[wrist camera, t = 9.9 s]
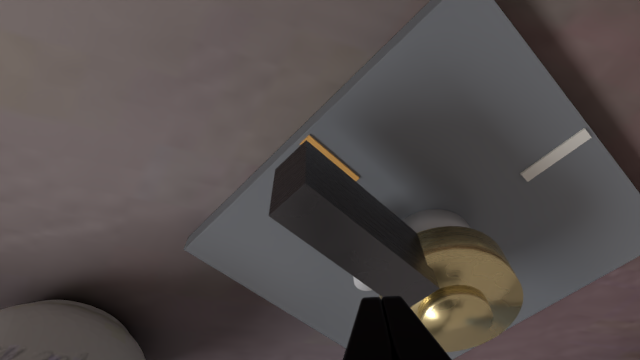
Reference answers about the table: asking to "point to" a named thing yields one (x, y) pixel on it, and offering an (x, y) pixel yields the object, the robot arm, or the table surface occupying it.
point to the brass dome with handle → (399, 252)
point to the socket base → (443, 171)
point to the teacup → (63, 333)
